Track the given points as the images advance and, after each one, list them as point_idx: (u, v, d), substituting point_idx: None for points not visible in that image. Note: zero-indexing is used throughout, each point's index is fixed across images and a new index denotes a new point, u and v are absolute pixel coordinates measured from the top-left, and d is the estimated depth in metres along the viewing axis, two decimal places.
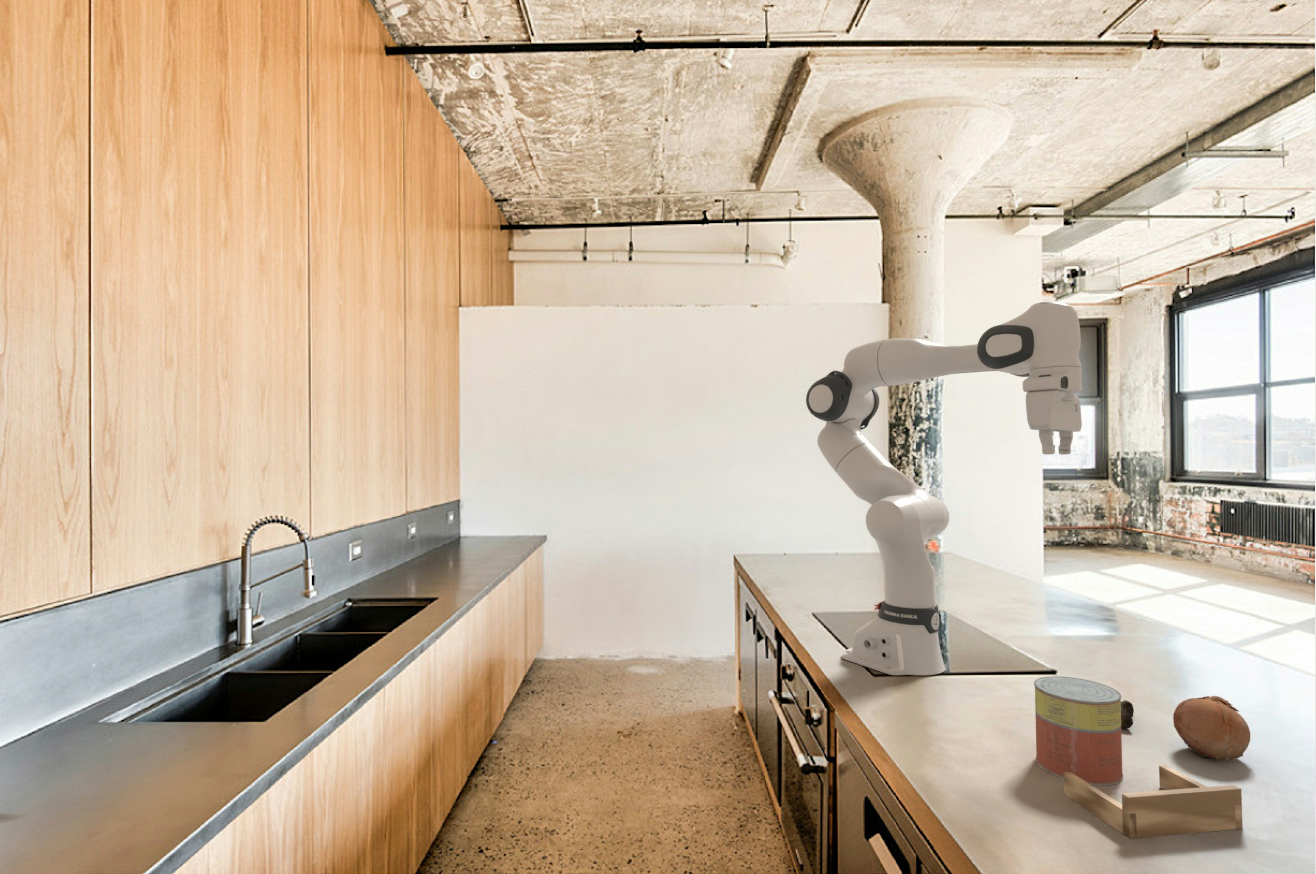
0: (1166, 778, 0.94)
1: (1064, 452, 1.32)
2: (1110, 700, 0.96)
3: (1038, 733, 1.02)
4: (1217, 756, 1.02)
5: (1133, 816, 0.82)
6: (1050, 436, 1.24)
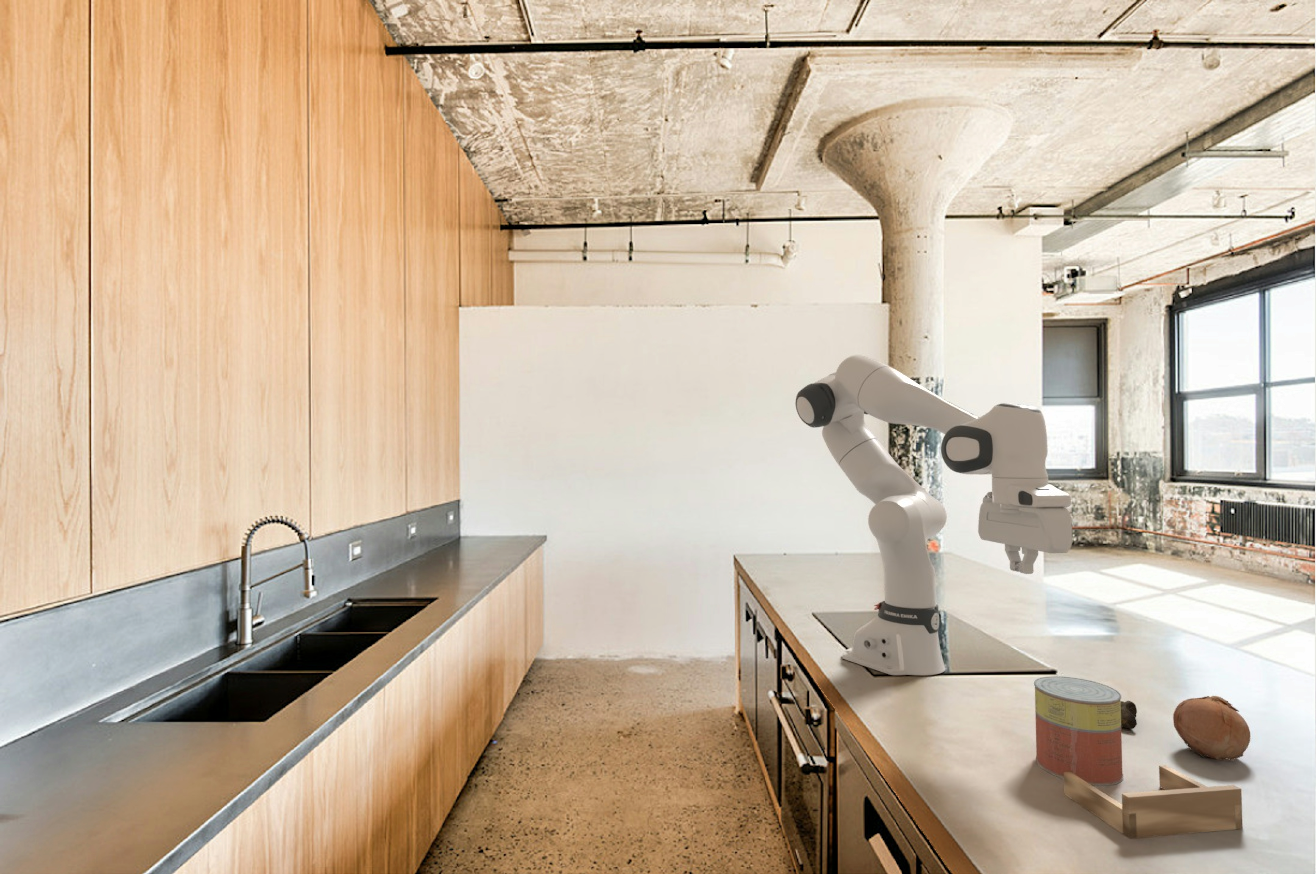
0: (1166, 778, 0.94)
1: None
2: (1110, 700, 0.96)
3: (1038, 733, 1.02)
4: (1217, 756, 1.02)
5: (1133, 816, 0.82)
6: (1037, 555, 1.14)
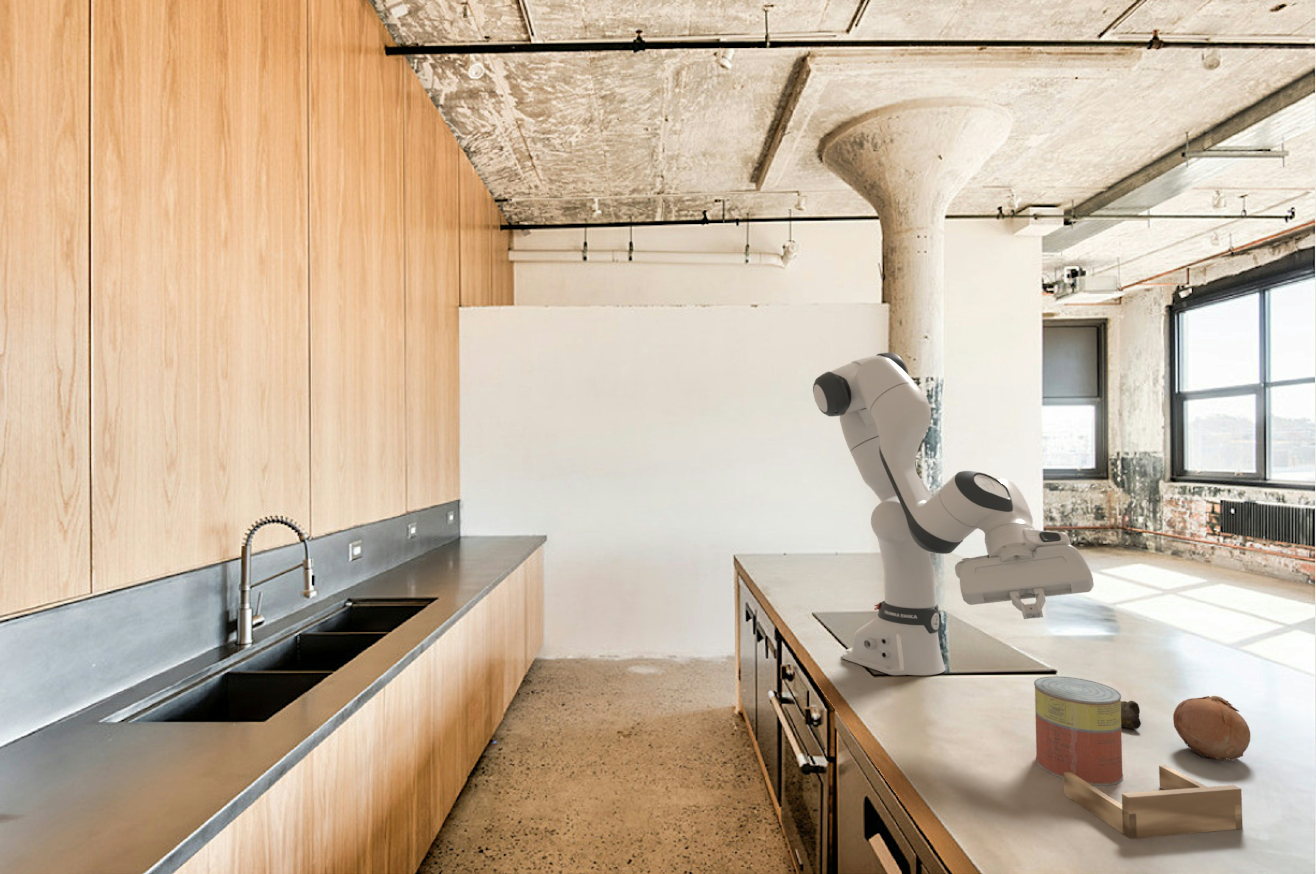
0: (1166, 778, 0.94)
1: None
2: (1110, 700, 0.96)
3: (1038, 733, 1.02)
4: (1217, 756, 1.02)
5: (1133, 816, 0.82)
6: (1045, 600, 1.11)
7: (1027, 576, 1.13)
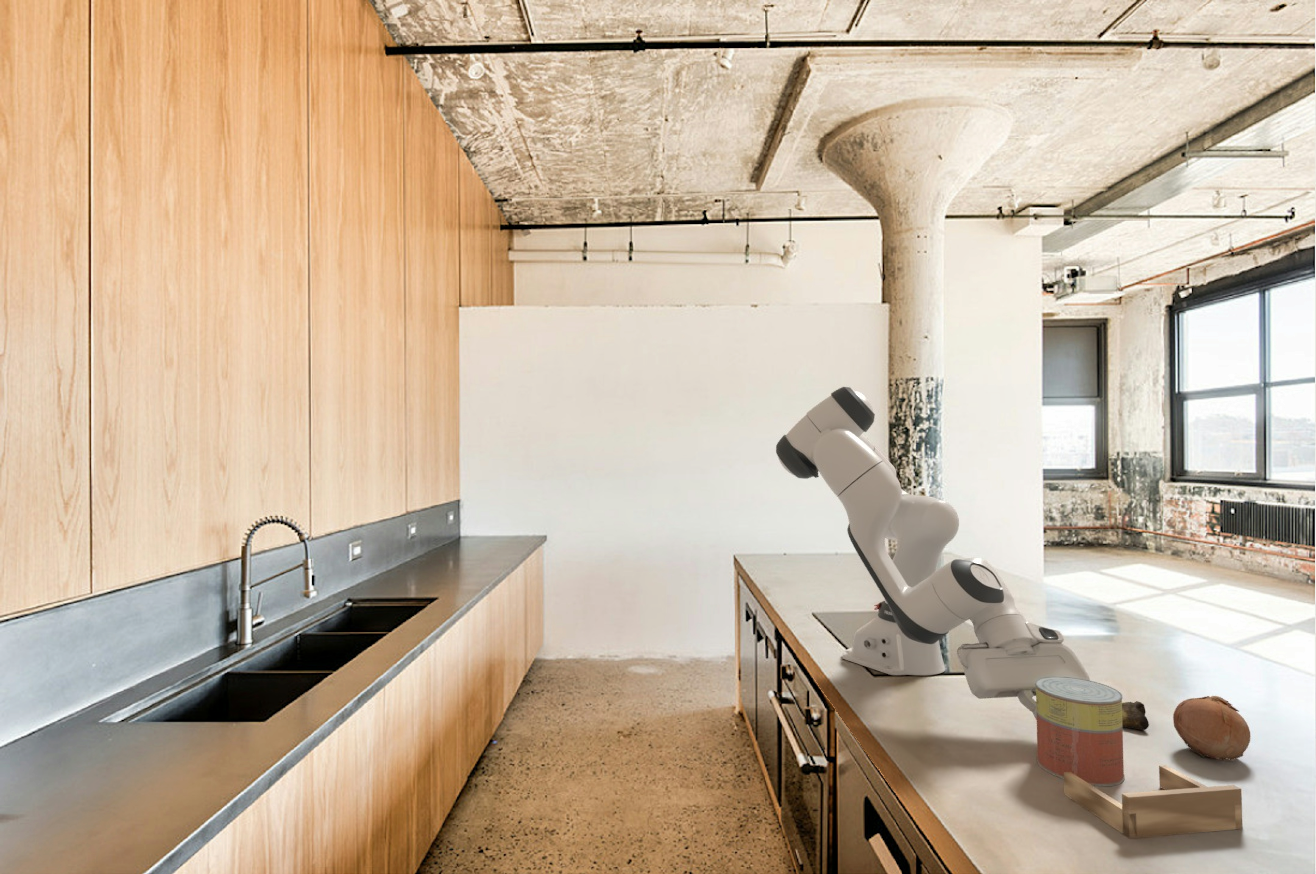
0: (1166, 778, 0.94)
1: None
2: (1111, 700, 0.96)
3: (1039, 733, 1.02)
4: (1217, 756, 1.02)
5: (1133, 816, 0.82)
6: None
7: (1037, 675, 1.11)
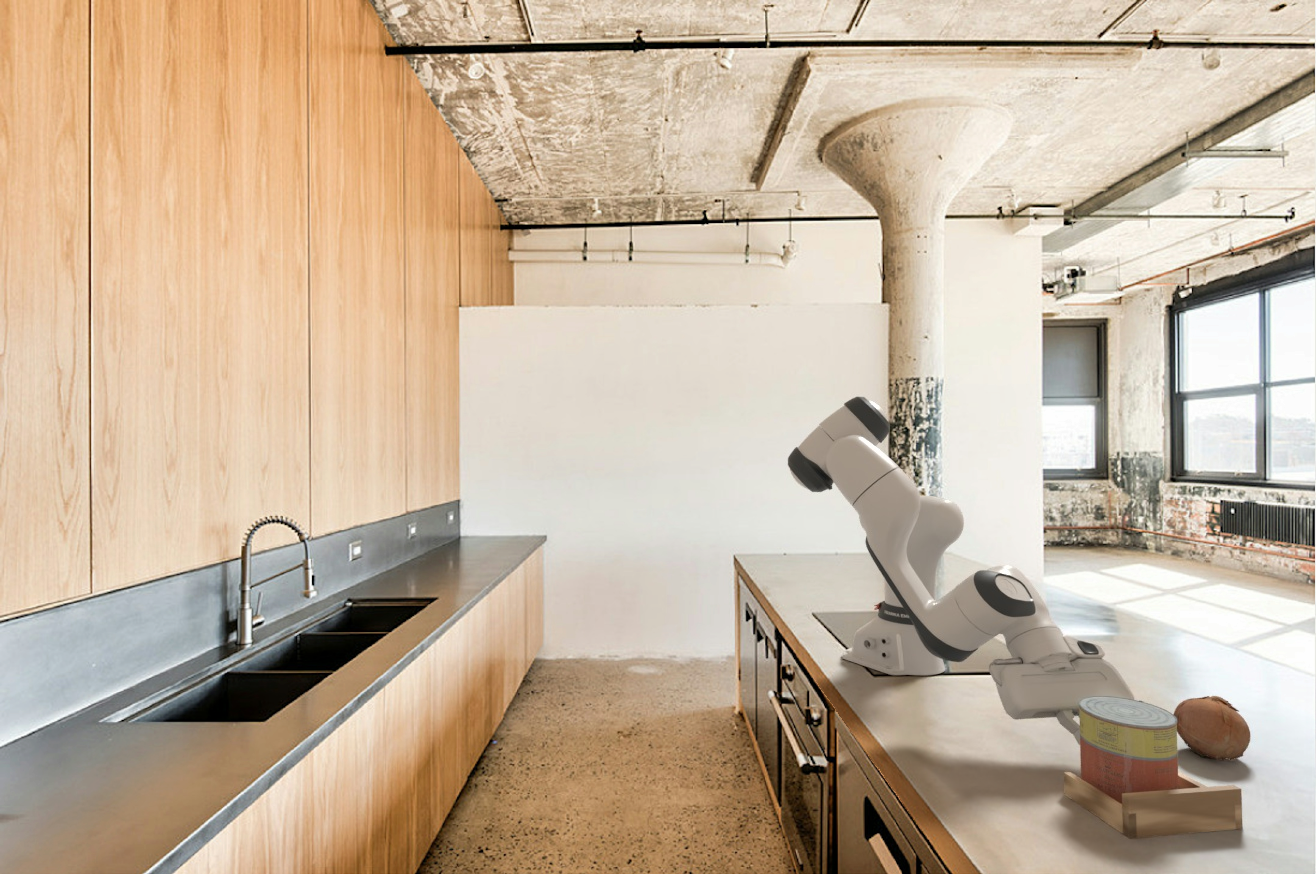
0: None
1: None
2: (1167, 724, 0.88)
3: (1084, 760, 0.93)
4: (1217, 756, 1.02)
5: (1133, 816, 0.82)
6: None
7: (1077, 693, 1.02)
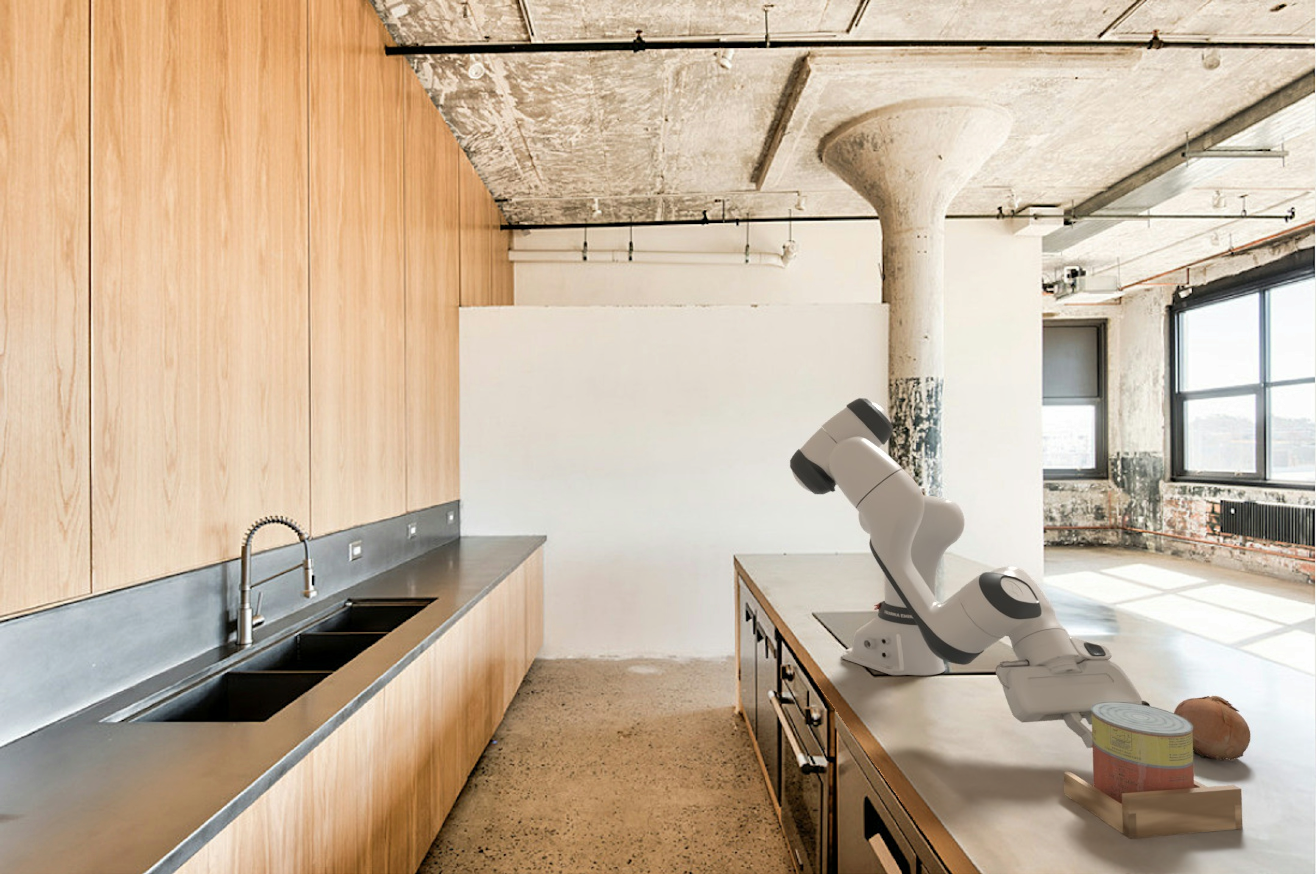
0: None
1: None
2: (1182, 731, 0.85)
3: (1097, 767, 0.91)
4: (1217, 756, 1.02)
5: (1133, 816, 0.82)
6: None
7: (1085, 696, 1.01)
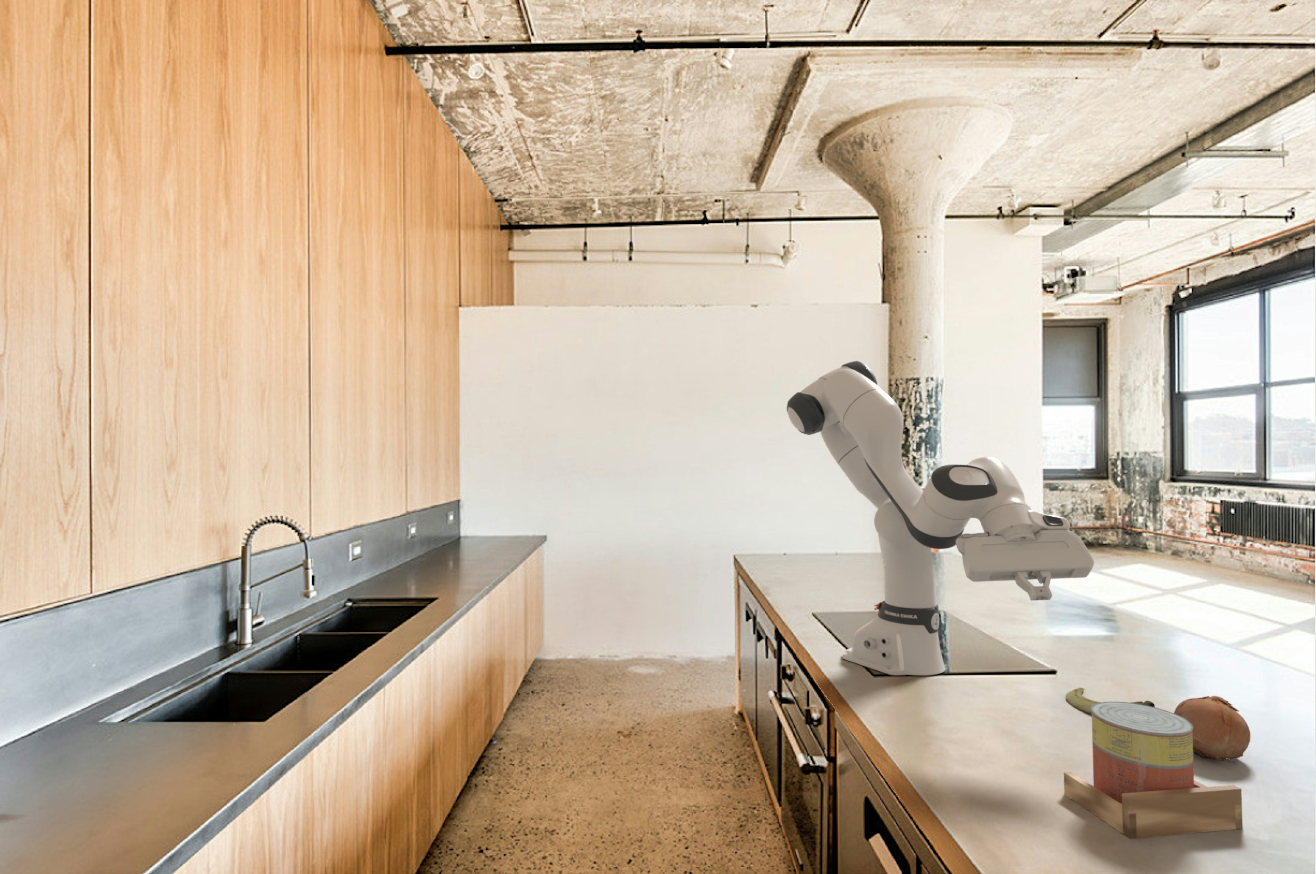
0: None
1: None
2: (1183, 731, 0.85)
3: (1097, 767, 0.91)
4: (1217, 756, 1.02)
5: (1133, 816, 0.82)
6: None
7: (1034, 558, 1.13)
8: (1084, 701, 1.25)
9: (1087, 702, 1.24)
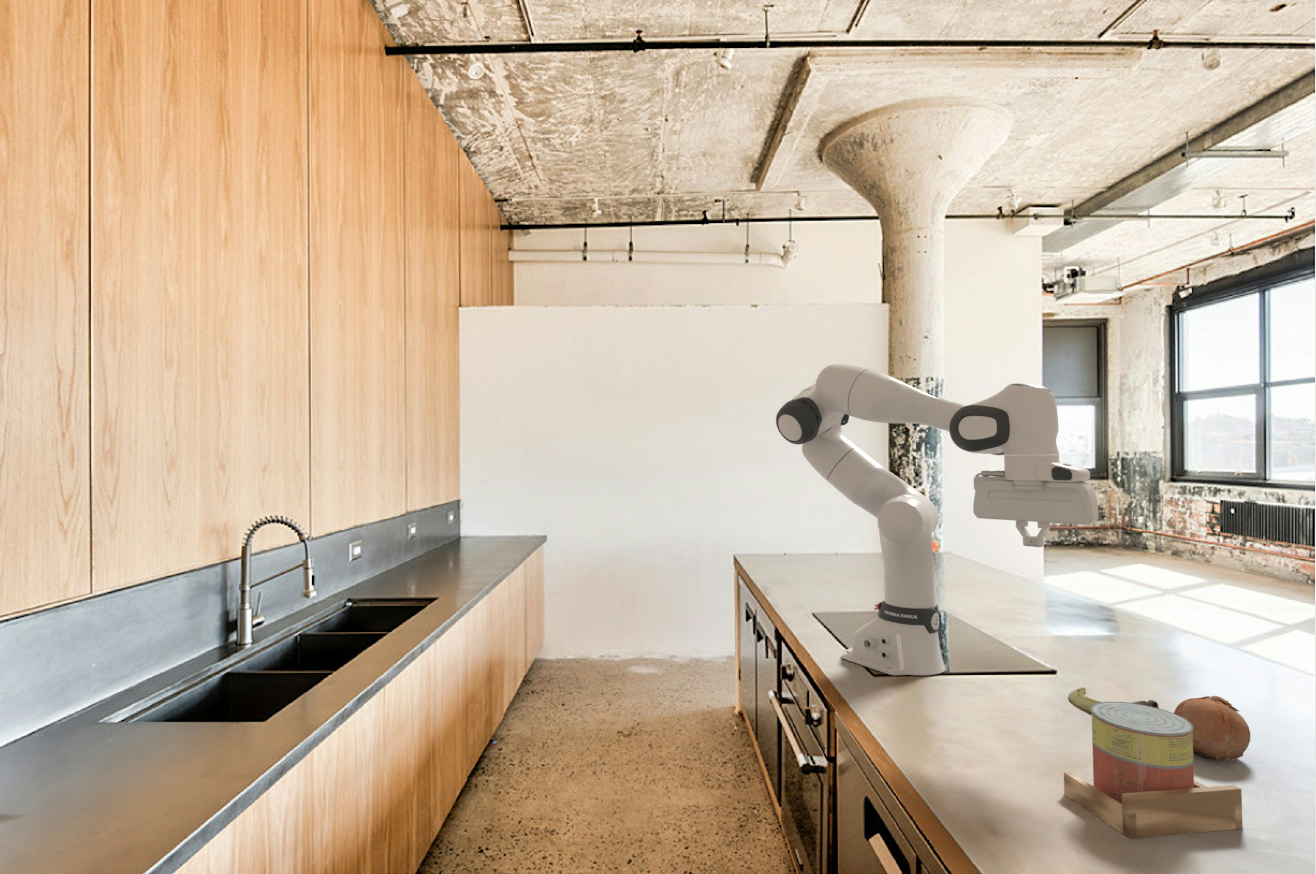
0: None
1: None
2: (1182, 731, 0.85)
3: (1097, 767, 0.91)
4: (1217, 756, 1.02)
5: (1133, 816, 0.82)
6: (1049, 528, 1.20)
7: (1033, 510, 1.20)
8: (1088, 701, 1.25)
9: (1091, 702, 1.24)
